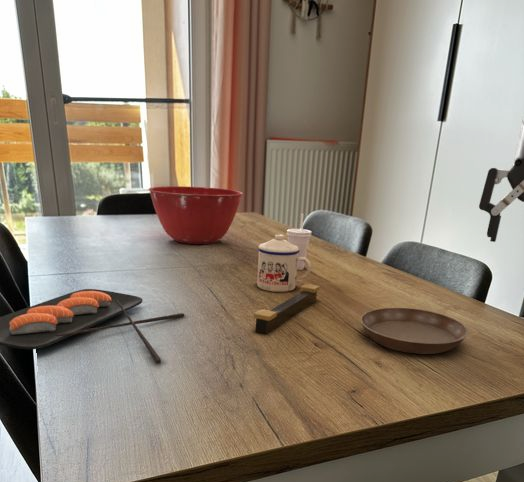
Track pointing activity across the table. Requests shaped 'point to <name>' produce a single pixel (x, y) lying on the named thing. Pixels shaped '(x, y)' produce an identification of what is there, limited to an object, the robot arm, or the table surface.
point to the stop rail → (285, 309)
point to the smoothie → (300, 241)
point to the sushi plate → (70, 319)
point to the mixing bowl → (195, 212)
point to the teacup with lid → (279, 265)
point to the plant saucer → (413, 330)
